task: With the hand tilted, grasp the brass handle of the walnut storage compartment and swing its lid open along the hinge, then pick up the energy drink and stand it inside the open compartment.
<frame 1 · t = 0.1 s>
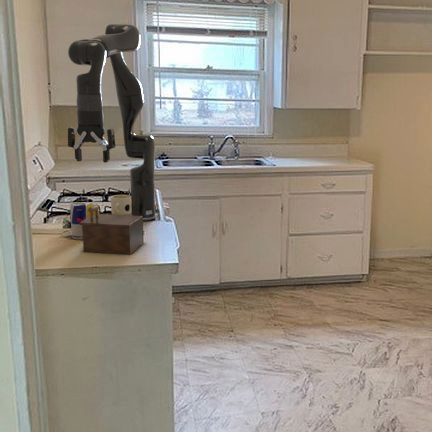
hand: (92, 161, 179), 29 cm above the countertop, tool pointing down, fingers open, 8 cm apart
compartment: (114, 247, 191), on the countertop
lemon: (92, 224, 220), on the countertop
character mug: (122, 231, 211), on the countertop
energy drink: (80, 238, 201), on the countertop
lid: (111, 214, 188), point 11 cm above the countertop, hinge at 0.0°
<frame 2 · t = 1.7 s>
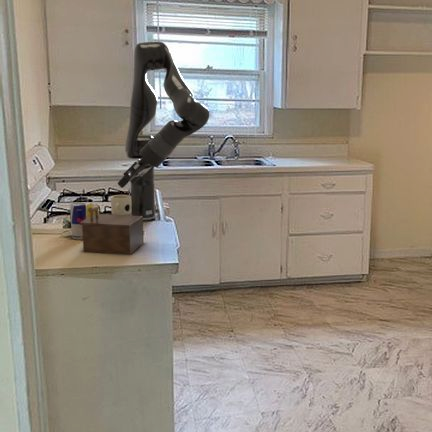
hand: (125, 183, 185), 22 cm above the countertop, tool tilted 45°, fingers open, 8 cm apart
nothing on the countertop moved.
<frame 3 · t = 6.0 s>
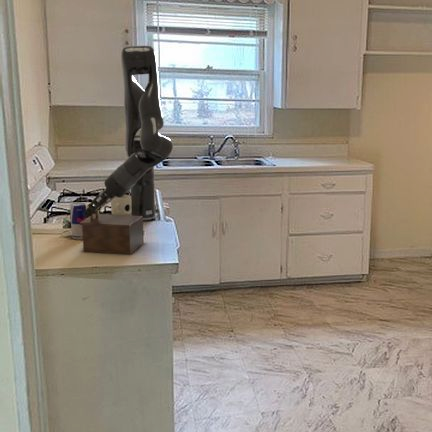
hand: (88, 213, 189), 11 cm above the countertop, tool tilted 45°, fingers closed on lid, 5 cm apart
lid: (111, 214, 188), point 11 cm above the countertop, hinge at 0.0°, touching gripper
everything else where it was.
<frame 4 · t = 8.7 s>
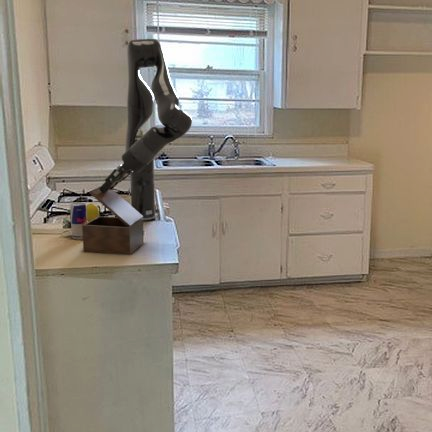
hand: (105, 189, 186), 20 cm above the countertop, tool tilted 45°, fingers closed on lid, 5 cm apart
lid: (121, 200, 187), point 16 cm above the countertop, hinge at 40.3°, touching gripper
everything else where it was.
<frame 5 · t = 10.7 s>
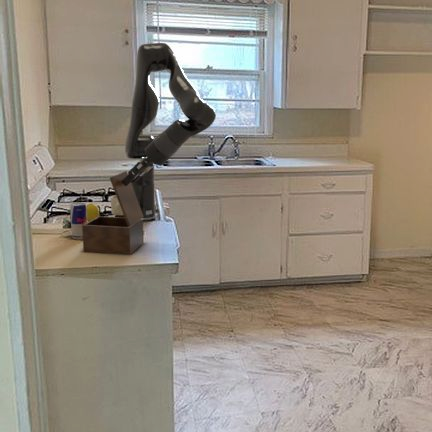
hand: (127, 182, 185), 22 cm above the countertop, tool tilted 45°, fingers closed on lid, 5 cm apart
lid: (133, 196, 186), point 18 cm above the countertop, hinge at 70.5°, touching gripper
everything else where it was.
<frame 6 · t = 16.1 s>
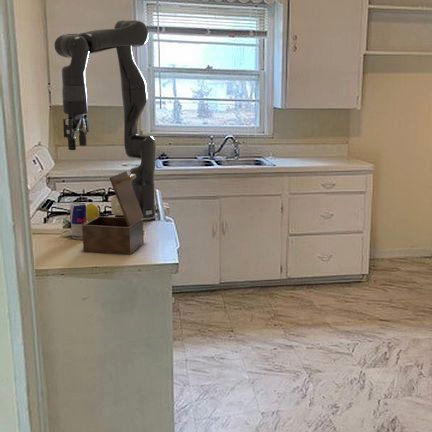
hand: (77, 147, 192), 32 cm above the countertop, tool pointing down, fingers open, 8 cm apart
lid: (133, 196, 186), point 18 cm above the countertop, hinge at 70.3°
everything else where it was.
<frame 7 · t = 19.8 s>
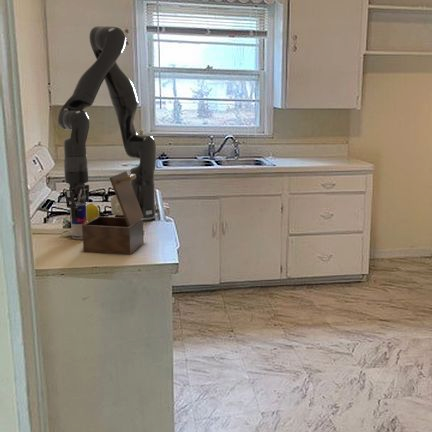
hand: (78, 216, 199), 7 cm above the countertop, tool pointing down, fingers closed on energy drink, 5 cm apart
energy drink: (80, 238, 201), on the countertop, touching gripper
everything else where it was.
when the fingers open (8 cm above the countertop, at t = 29.0 s): energy drink stays where it is, resting on compartment.
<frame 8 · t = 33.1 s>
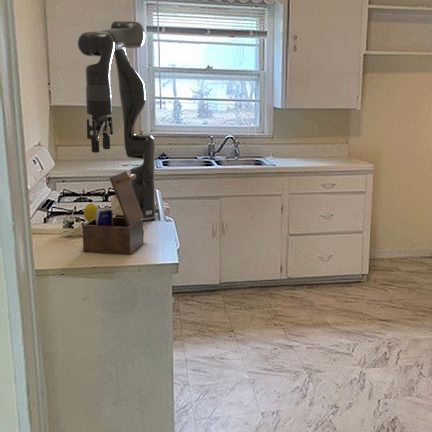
hand: (101, 150, 183), 32 cm above the countertop, tool pointing down, fingers open, 8 cm apart
energy drink: (105, 245, 191), point 1 cm above the countertop, touching compartment
everything else where it was.
at the end: lid at +70° (first picture: +0°); energy drink inside the target area in the compartment (3.0 cm from its centre), point 0.6 cm above the compartment's base; energy drink tilted 0° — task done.
